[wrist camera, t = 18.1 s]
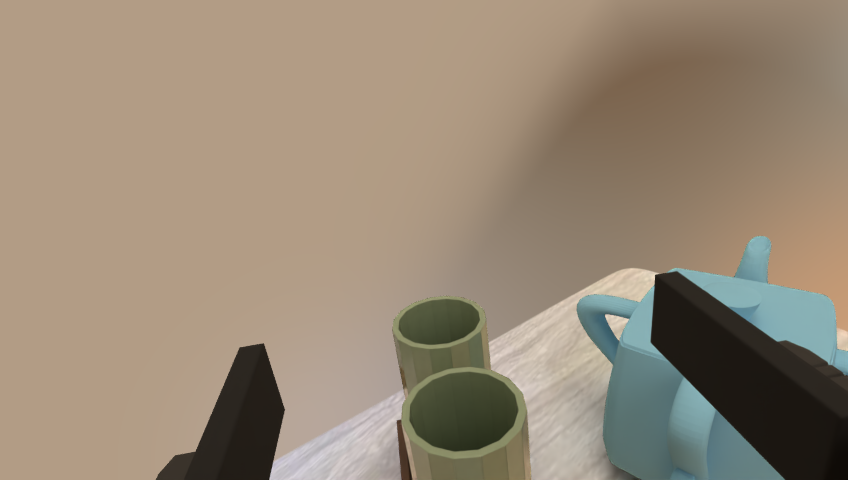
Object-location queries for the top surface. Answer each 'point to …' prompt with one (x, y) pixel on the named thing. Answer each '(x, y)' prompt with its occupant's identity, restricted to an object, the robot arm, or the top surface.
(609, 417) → the teapot
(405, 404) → the cup
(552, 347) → the top surface
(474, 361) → the cup
